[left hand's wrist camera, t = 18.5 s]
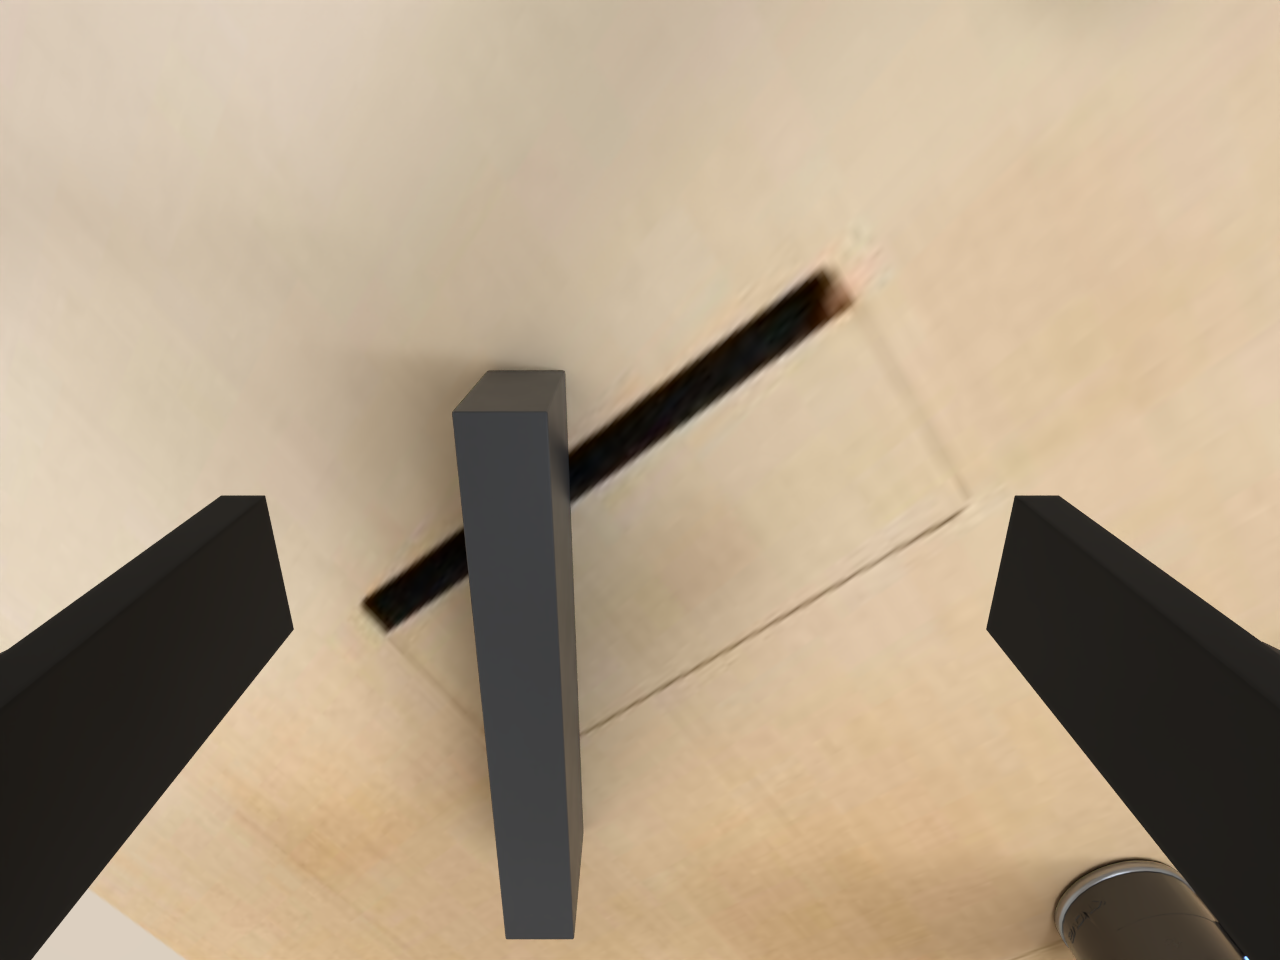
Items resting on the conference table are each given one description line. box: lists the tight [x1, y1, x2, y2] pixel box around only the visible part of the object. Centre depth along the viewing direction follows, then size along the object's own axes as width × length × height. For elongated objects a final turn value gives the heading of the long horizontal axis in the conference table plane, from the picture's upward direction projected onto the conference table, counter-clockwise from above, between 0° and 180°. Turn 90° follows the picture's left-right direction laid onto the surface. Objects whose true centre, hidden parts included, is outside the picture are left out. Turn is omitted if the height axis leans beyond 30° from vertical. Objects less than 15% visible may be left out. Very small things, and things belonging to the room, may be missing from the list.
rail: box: [452, 371, 583, 939], centre depth 39 cm, size 32×4×8 cm, turn 0°
